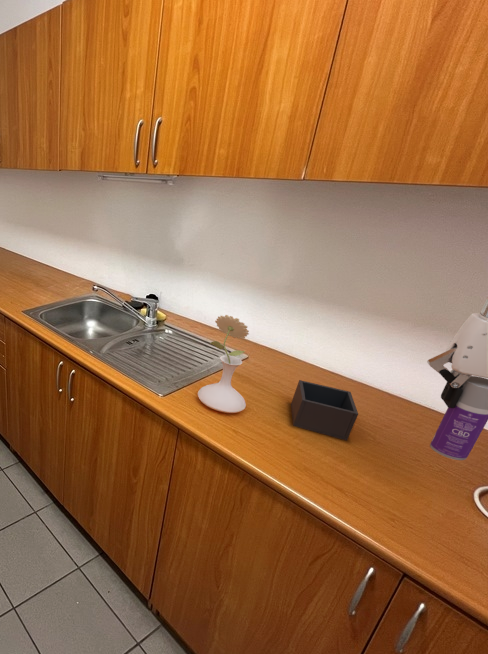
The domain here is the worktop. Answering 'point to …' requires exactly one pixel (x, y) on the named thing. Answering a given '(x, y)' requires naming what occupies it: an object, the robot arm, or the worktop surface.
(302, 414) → the bin
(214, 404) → the flower in vase
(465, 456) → the container
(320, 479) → the worktop surface
